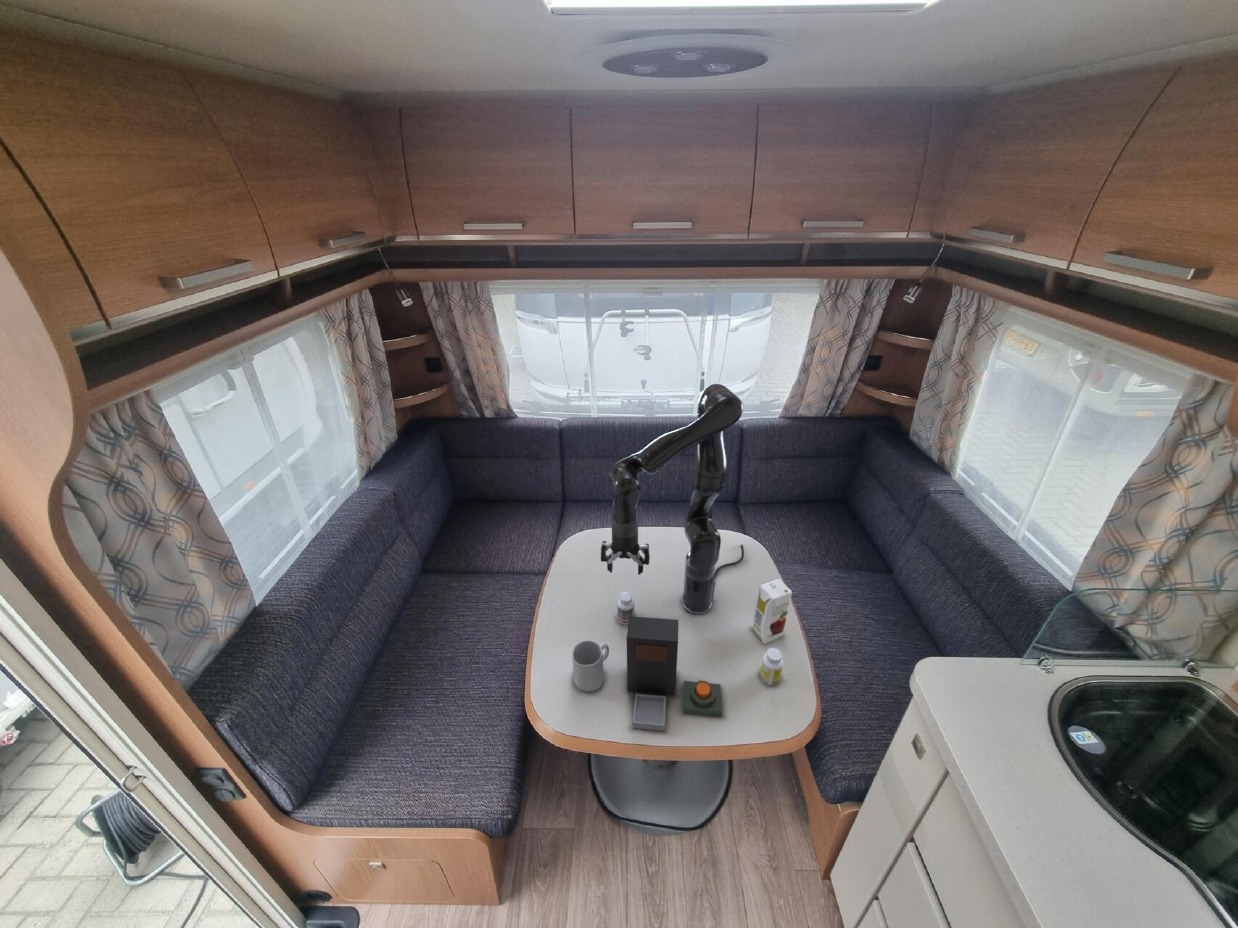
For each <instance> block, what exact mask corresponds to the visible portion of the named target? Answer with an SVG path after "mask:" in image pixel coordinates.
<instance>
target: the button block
mask: <svg viewBox="0 0 1238 928" xmlns="http://www.w3.org/2000/svg"><path fill="white" fill-rule="evenodd" d="M701 682H704V683H706V684H708V685H709V687H710V695H709V697H708V698H705V699H702V698H700V697H698V696H697V694H696V687H697V685H698V684H699V683H701ZM682 684H683V685H682V686H683V687H682V688H683V689H682V691H683V692H682V693H683V694H682V699H683V700H682V701H683V702H682V706H683V707H682V710H683V711H682V713H683V714H692V715H702V716H711V717H712V716H713V717H723V700H722V699H723V698H722V686H721V684H720V683H712V682H711V683H710V682H708V681H706V680H697V681H691V680H683V683H682Z"/></svg>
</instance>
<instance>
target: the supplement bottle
mask: <svg viewBox="0 0 1238 928" xmlns="http://www.w3.org/2000/svg"><path fill="white" fill-rule="evenodd" d="M760 667H761V668H760V672H759V676H760V679H761V680H762V681H763V683H765V684H766V685H769V686H776V685H777V684H778V683H779V682H780V679H781V675H782V672H783V667H784V661H783V654H782V651H780V650H779V649H778V648H775V647H770V648H768V649H767V650H766V653H765V654H764V655H763V657H762V662H761V666H760Z"/></svg>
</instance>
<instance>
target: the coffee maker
mask: <svg viewBox="0 0 1238 928" xmlns="http://www.w3.org/2000/svg"><path fill="white" fill-rule="evenodd" d="M679 621H680V620H679V619H672V618H661V617H647V616H635V615H634V616H629V621H628V624H627V630H626V637H625V638H626V685H627V686H626V687H627V689H626V690H627V692H631V693H632V692H633V693H635V695H634V705H633V706H634V707H633V715H632V716H633V717H632V728H633V729H639V730H651V731H660V732H666V730H665V729H666V710H667V709H666V708H667V707H666V706H667V696H673V697H675V696H676V683H677V670H678V669H677V665H678V654H679V653H678V652H679V651H678V650H679Z"/></svg>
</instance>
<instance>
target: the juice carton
mask: <svg viewBox="0 0 1238 928" xmlns="http://www.w3.org/2000/svg"><path fill="white" fill-rule="evenodd" d="M758 586H759V587H758V589H757V590H758V591H757V597H756V603H755V608H754V614H753V620H752V625H751V630H752V631H753V633H754V634H755V635H756V636H757V637H758V639H759V640H760V641H761V643H763V644H764V645H765V644H767V643H770V642H772V641H773V640H777V639H780V638H782V637H783V634H784V630H785V626H786V621H787V617H788V613H789V608H790V604H791V599H792V594H793V591H792V590H791V589H790V587H788V586H787V585H786V584H785V583H784V582H783V580H781V579H780V578H778V577H777V578H776V579H773V580H771V581H769V582H766V583H765V582H764V583H762V584H761V583H760V584H759V585H758Z"/></svg>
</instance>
